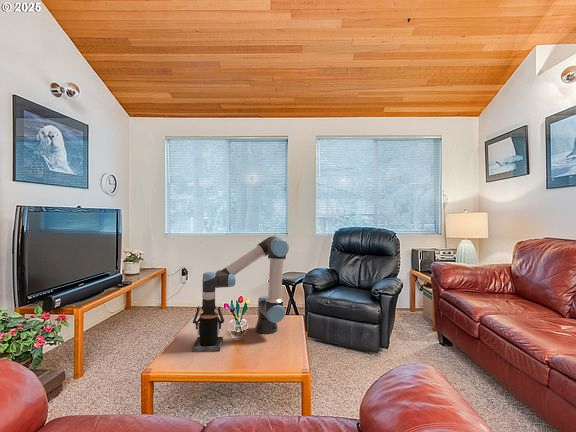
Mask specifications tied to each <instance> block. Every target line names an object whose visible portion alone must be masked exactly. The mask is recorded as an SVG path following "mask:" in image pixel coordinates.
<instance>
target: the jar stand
mask: <svg viewBox="0 0 576 432" xmlns="http://www.w3.org/2000/svg"><path fill="white" fill-rule="evenodd" d="M195 339H196V340H195V341H194V344H193V345H192V347H191V348H192V352H194V353H195V352H199V353H202V352H221V349H222V345H223V342H224V336H218V342H217V344H216V345H215V346H201V345H200V343H199V336H197V338H195Z"/></svg>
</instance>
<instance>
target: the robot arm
mask: <svg viewBox="0 0 576 432" xmlns="http://www.w3.org/2000/svg"><path fill="white" fill-rule="evenodd" d="M289 251H290V245H289V243H288V241H287V240H286V239H284V238H282V237H279V236H278V237H277V236H273V235H272V236H269V237H267V238H265V239H263V240H262V241H261V242H259V243H258V244H257V245H256V247H254V248H253V249H252V250H250V251H248V252H247V253H245V254H244V255H242V256H241V257H239V258H237V259H236V260H235V261H233V262H232V263H230V264H229V265H226V267H224V268H222V269H219V270H216V271H205V272H204V273H202V279H201V280H202V292H201V293H202V294H201V295H202V300H201V301H202V303H201V304H202V305H201V306H199V305H198V306H197V307H196V312H195V315H194V317H193V320H192V324H194V325H195V330H197V336H199V332H200V316H199V313H200V311H201V310H202V312H201V313H202V315H204V314H212V315H216V313H218V316H217V317H216V318H217V322H218V336H219V335H220V330H221V329H222V324H224V323H225V318H224V316H223V312H222V309H221V305H220V306H216V289H218V288H221V289H222V288H232V287H234V286H236V276H235V275H237V274H238V273H241V272H242V271H243V270H245V269H246V268H247V267H249V266H250V265H252V264H253V263H255V262H257V261H258V260H260V259H261V258H262V257H267V258H268V260H269V271H268V272H269V274H268V291H267V292H268V294H267V295H264V296H260V297H258V301H257V312H258V313H257V321H256V324H255V326H254V327H255V332H256V333H258V334H263V335H265V334H266V335H268V334H270V333H271V334H274V332H275V333H276V332H278V328H279V327H278V323H279V322H282V320H283V319H284V318H285V316H286V309H285V307H284V299H283V298H282V290H283V288H282V286H283V271H284V270H283V269H284V261H286V257H287V254H288V253H289ZM216 311H217V312H216ZM215 312H216V313H215ZM198 316H199V317H198ZM197 318H198V319H197ZM271 334H270V335H271Z"/></svg>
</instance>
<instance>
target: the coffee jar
mask: <svg viewBox="0 0 576 432" xmlns="http://www.w3.org/2000/svg"><path fill="white" fill-rule="evenodd" d="M202 313H203V312H201V313H200V314H199V317H200V321H199V323H200V332H199V335H198V337H199V343H200V345H201V346H215V345H216V344H217V342H218V337H219V335H218V322H217V318H216V317H217V316H218V317H219V313H218V312H216V311H215V313H216V315H212V314H204V315H202Z"/></svg>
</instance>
